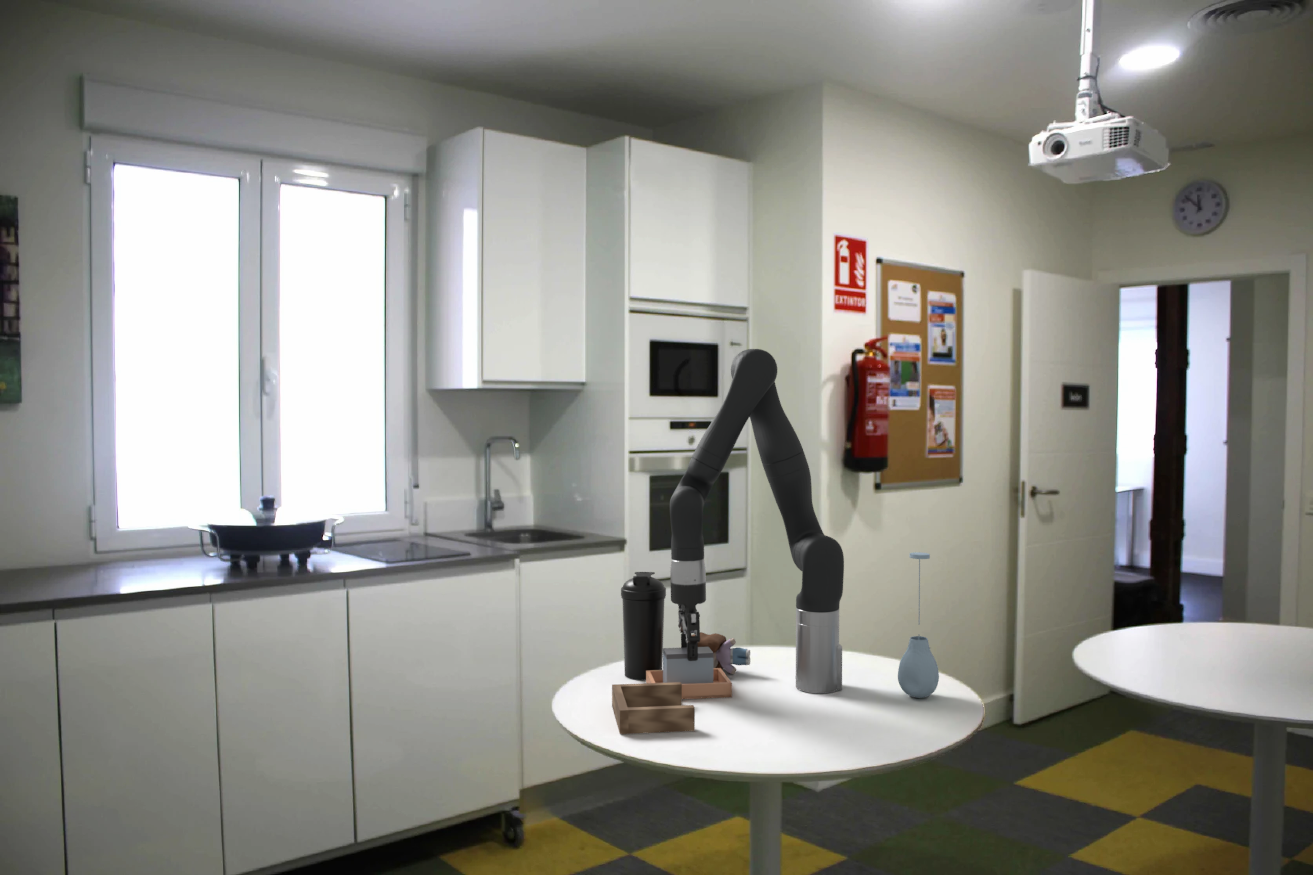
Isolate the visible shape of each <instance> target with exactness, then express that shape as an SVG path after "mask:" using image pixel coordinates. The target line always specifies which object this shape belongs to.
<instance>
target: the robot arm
mask: <svg viewBox="0 0 1313 875" xmlns="http://www.w3.org/2000/svg"><path fill="white" fill-rule="evenodd" d="M730 374H731V379H732V380H731V383H730V386H729V388H728V391H727V394H726V396H725V398H724V400H723V402H722V405H721V406H720V408H719V409H718V412H717V413H716V414H715V416H714V418H713V419H712V421H711V422H710V424H709V426H708V427H707V428H706V429H705V432H703V435H702V437H701V438H700V439H699V442H698V444H697V446H696V448H695V450H694V452H693V454H692V456H691V458H690V460H689V463H688V465H687V469H686V471H685V473H684V474H683V476H682V477H681V479H680V480H679V483H678V484H677V486H676V488H675V490H674V491H673V493H672V495H671V497H670V500H669V516H670V527H671V529H670V530H671V543H670V550H671V551H670V552H671V554H670V556H671V558H670V559H671V561H670V571H669V572H670V601H671V602H672V603H673V604H675V605H678V606H677V607H678V610H677V611H678V612H677V614H678V621H677V622H678V625H677V626H678V628H679V629H678V630H679V632H680V633H679V634H680V648H684V647H687V659H688V661H697V660H698V643H699V642H700V632H701V628H700V624H701V622H700V617H701V614H700V612H699V611H698V610H697V605H701V604H704V603H705V602H706V600H707V589H706V588H707V582H706V581H707V580H706V579H707V577H706V576H707V574H706V572H707V571H706V563H705V540H704V535H703V522H704V521H703V520H704V519H703V518H704V517H703V516H704V512H703V511H704V506H705V503H706V501H707V498H708V496H709V495H710V492H711V490H712V488H713V486H714V484H715V482H716V481H717V480H718V479H719V476H720V474H722V471H723V470H724V467H725V465H726V464H727V461H728V460H729V458H730V455H731V454H732V451H733V450H734V447H735V446H736V443H737V441H738V439H739V438H740V434H741V432H742V431H743V428H744V427H745V426H746V423H747V421H748V420H749V419H750V423H751V427H752V431H753V436H754V440H755V444H756V447H757V451H758V454H759V458H760V461H761V463H762V467H763V470H764V473H765V475H766V478H767V482H768V483H769V487H770V489H771V492H772V494H773V497H774V501H775V503H776V505H777V507H778V510H779V512H780V515H781V518H782V520H783V525H784V527H785V533H786V537H787V541H788V546H789V550H790V556H791V558H792V561H793V563H794V564H795V566H796V568H798V570H799V571H801V572H802V573H801V575H802V576H801V588H800V592H799V593H797V595H796V597H795V598H796V599H795V687H796V688H797V690H800V691H802V692H806V693H812V694H828V693H833V692H836V691H837V692H839V691H843V646H842V645H841V644H840V602H841V600H842V597H843V592H844V579H845V578H844V577H845V574H844V573H845V572H844V571H845V570H844V569H845V558H844V551H843V548H842V546H841V544H840V543H839V542H838V540H836V539H835V538H834V537H831V536H828V535H825V533H824V531H823V529H822V527H821V525H820V523H819V521H818V518H817V515H816V512H815V509H814V505H813V493H812V491H813V490H812V489H813V488H812V476H811V475H812V474H811V471H810V466H809V463H808V461H807V460H808V459H807V457H806V454H805V451H804V448H803V445H802V444H801V440H800V439H799V437H798V435H797V432H796V431H795V429H794V426H793V425H792V423H791V421H790V420H789V418H788V416H787V414H786V412H785V410H784V408H783V406H782V403H781V400H780V396H779V393H778V389H777V385H776V379H777V375H778V363H777V361H776V360H775V357H774V356H773V355H772V354H771V353H770V352H768V351H767V350H764V349H761V348H749V349H744V350H742V351H740V352H739V353H737V354H736V356H734V358H733V360H732V363H731V366H730ZM692 634H695V636H691V635H692Z"/></svg>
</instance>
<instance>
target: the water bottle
mask: <svg viewBox="0 0 1313 875" xmlns="http://www.w3.org/2000/svg"><path fill="white" fill-rule="evenodd" d="M634 574H635V575H633V577H632V578H629V579H627V580H626V581H625V582H624V583H623V586H622V587H621V588H620V596H621V599H622V624H623V625H622V626H623V654H624V657H623V658H624V659H623V663H624V676H625V678H627V679H629V680H636V681H646V671H647V670H663V648H664V624H665V599H666V595H667V588H666V587H665V585H664V583H663V582H662V581H661V580H659V579H657V578H656V577H652V576H653V575H655V572H654V571H635V572H634Z"/></svg>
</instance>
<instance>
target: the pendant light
mask: <svg viewBox="0 0 1313 875" xmlns="http://www.w3.org/2000/svg"><path fill="white" fill-rule="evenodd" d="M930 555H931V554H930V553H928V552H920V551H919V552H916V551H915V552H909V558H910V559H913V560H914V559H915V560H918V563H919V564H918V624H920V622H921V620H920V609H921V608H920V607H921V606H920V603H921V601H920V600H921V595H920V594H921V592H920V591H921V588H920V587H921V585H920V584H921V582H920V581H921V560H929V559H930V558H931V556H930ZM939 672H940V671H939V667H938V664H937V661H936V658H935V657H934V655H933V653H932V651H931V647H930V644H929V640H928V638H927V637H926V636H923V635H922V636H920V635H917V636H914V635H913V636H910V637H909V641H908V645H907V648H906V651H905V652H904V653H903V655H902V656H901V658H900V661H899V665H898V671H897V681H898V684H899V686H900V688H901V689H902V690H901V691H903V692H904V693H905V695H908V696H910V697H912V698H917V699H921V698H927V697H929V696H931V695H933V693H934V692H935V691H936V690H937V687H938V684H939V681H940V674H939Z"/></svg>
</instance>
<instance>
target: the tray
mask: <svg viewBox="0 0 1313 875" xmlns="http://www.w3.org/2000/svg"><path fill="white" fill-rule="evenodd" d="M645 683H663V669H662V670H647V671H646V680H645ZM724 698H728V699H729V698H733V682H732V681H731V680H730V678H729V677H728V676H727V675H726V673H725V672H724V669H721V668H713V683H692V684H682V700H695V699H696V700H698V699H699V700H700V699H701V700H702V699H724Z"/></svg>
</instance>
